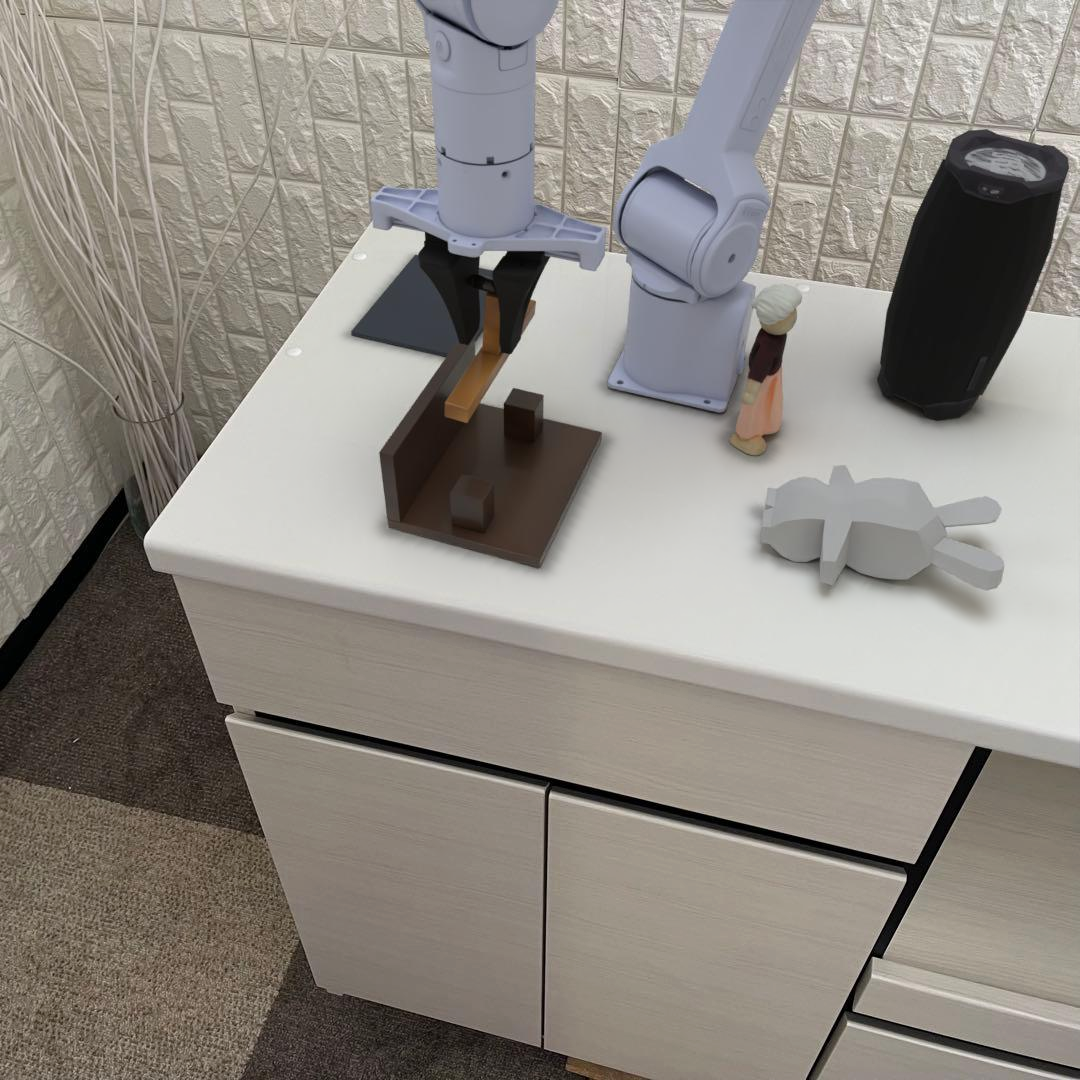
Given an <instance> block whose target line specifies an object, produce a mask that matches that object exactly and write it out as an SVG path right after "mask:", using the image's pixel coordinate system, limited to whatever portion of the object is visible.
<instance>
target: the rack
mask: <svg viewBox="0 0 1080 1080" xmlns="http://www.w3.org/2000/svg"><path fill="white" fill-rule="evenodd" d="M475 356H476V341H475V337H473V339H472V340H471V342H470V343H469V345H464V344H460V343H459V341H457V342H456V344H455V345H454V347H453V348H452V350H451V351H450V352H449V354H448V355H447V357H444V359H443V360H442V362H441V364H440V365H439V366H438V368H437V370H436V371H435V372H434V373H433V375H432V376H431V378H430V379H429V380H428V382H427V384H426V385H425V386H424V388H423V389H422V391H421V392H420V394H419V395H418V396H417V398H416V400H415V401H414V402H413V404H412V405H411V406H410V408H409V410H408V411H407V412H406V414H405V415H404V417H403V418H402V419H401V420H400V422H399V423H398V425H396V428H395V429H394V430H393V432H392V434H391V435H390V436H389V438H388V439H387V440H386V442H385V444H383V446H382V448H381V449H380V451H379V452H378V455H379V463H380V471H381V479H382V486H383V495H384V496H383V497H384V503H385V511H386V519H387V526H388V528H389V529H394V530H397V531H401V532H404V533H408V534H412V535H415V536H419V537H423V538H427V539H431V540H435V541H438V542H442V543H445V544H449V545H453V546H456V547H460V548H464V549H467V550H471V551H475V552H478V553H483V554H486V555H489V556H493V557H497V558H501V559H505V560H508V561H512V562H515V563H519V564H524V565H527V566H530V567H534V568H537V569H539V568H541V565H542V563H543V561H544V559H545V557H546V555H547V553H548V551H549V549H550V547H551V545H552V543H553V541H554V538H555V537H556V535H557V533H558V530H559V529H560V527H561V524H562V522H563V520H564V518H565V517H566V515H567V512H568V509H569V507H570V506H571V503H572V501H573V499H574V497H575V495H576V494H577V491H578V488H580V485H581V482H582V481H583V478H584V476H585V475H586V472H587V471H588V468H589V466H590V464H591V462H592V460H593V458H594V456H595V454H596V451H597V450H598V447H599V446H600V444H601V441H602V437H603V432H602V431H599V430H594V429H591V428H586V427H582V426H579V425H578V426H577V425H574V424H569V423H565V422H561V421H557V420H552V419H549V418H545V417H544V404H545V403H544V401H545V395H544V394H542V393H537V392H533V391H528V390H526V389H525V390H524V389H521V388H516V387H513V388H512V389H511V391H510V392H509V394H508V396H507V397H506V399H505V400H504V402H503V408H502V407H497V406H494V405H489V404H485V403H482V402H480V403H479V405H478V407H477V408H476V410H475V412H474V413H473V415H472V416H471V418H470V420H469V421H468V423H464V422H461V421H458V420H454V419H451V418H448V417H445V402H446V400H447V399H448V397H449V396H450V394H451V393H452V391H453V390H454V388H455V387H456V385H457V384H458V382H459V381H460V379H461V378H462V376H463V374H464V373H465V371H466V370H467V368H468V367H469V365H470V364H471V362H472V361H473V359H474V358H475Z"/></svg>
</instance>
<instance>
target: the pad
mask: <svg viewBox="0 0 1080 1080" xmlns="http://www.w3.org/2000/svg"><path fill="white" fill-rule="evenodd" d="M492 272H493V270H491V269H487V268H482V267H479V275H483V276H486V277H490V278H492ZM486 294H487V292H486V291H483V290H479V299H480V325H479V330H478V331H477V333H476V334H475V336H474V337H475V342H477V340H478V339H479V337H480V336H481V334H483V326H484V309H485V295H486ZM350 333H351V336H353V337H357V338H362V339H366V340H370V341H371V340H372V341H376V342H379V343H385V344H389V345H394V346H397V347H402V348H406V349H410V350H415V351H419V352H424V353H428V354H433V355H436V356H441V357H444V358H446V357H447V355H448V354H449V352H450V351H451V350H452V348H453V347H454V345H455V344H456V342H457V341H458V337H457V334H456V331H455V328H454V325H453V322H452V320H451V317H450V314H449V312H448V310H447V307H446V305H445V303H444V301H443V299H442V297H441V295H440V293H439V292H438V290H437V288H436V287H435V285H434V284H433V282H432V281H431V280H430V278H429V277H428V276H427V275H426V273H425V272H424V271H423V270H422V269H421V268H420V265H419V260H418V254H414V255H413V256H412V258H411V259H410V260H409V261H408V262H407V264H406V265H405V266H404V267H403V268H402V270H401V271H400V272H399V273H398V274H397V276H396V277H395V278H394V279H393V280H392V281H391V283H390V284H389V285H388V286H387V287H386V289H385V290H384V291H383V292H382V293H381V295H380V296H379V297H378V298H377V299H376V301H375V302H374V303H373V304H372V306H371V307H370V308H369V309H368V310H367V312H366V313H365V314H364V315H363V317H362V318H361V319H360V320H359V321H358V322H357V324H356V325H355V326H354V327H353V329H352V330H351V331H350Z"/></svg>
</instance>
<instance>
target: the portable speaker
mask: <svg viewBox="0 0 1080 1080" xmlns="http://www.w3.org/2000/svg"><path fill="white" fill-rule="evenodd" d="M1069 170H1070V162H1069V157H1068V156H1067V155H1066V154H1065V153H1063V152H1062V151H1061V150H1060V149H1059V148H1057V147H1056V146H1055V145H1050V144H1037V143H1034V142H1030V141H1026V140H1021V139H1018V138H1015V137H1010V136H1006V135H1004V134H1003V135H1002V134H998V133H996V132H994V131H992V130H990V129H987V128H986V129H973V130H972V129H971V130H969V129H968V130H967V131H964V132H963V133H960V134H959V135H957V136H955V137H954V138H952V139H951V142H950V144H949V147H948V149H947V153H946V156H945V158H942V160H941V163H940V164H939V167H938V168H937V171H936V173H935V175H934V177H933V179H932V181H931V183H930V185H929V187H928V189H927V192H926V193H925V195H924V197H923V200H922V201H921V204H920V206H919V208H918V210H917V212H916V214H915V216H914V219H913V221H912V224H911V228H910V231H909V235H908V238H907V242H906V245H905V248H904V252H903V255H902V259H901V261H900V265H899V269H898V272H897V274H896V275H897V276H896V278H895V281H894V282H895V283H894V286H893V288H892V291H891V296H890V300H889V302H888V306H887V308H886V314H885V321H884V330H883V337H882V345H881V353H880V359H879V360H880V361H879V365H880V368H879V372H878V375H877V377H876V380H877V383H878V386H879V389H880V391H881V394H882V396H886V397H893V396H895V397H898V398H900V399H902V400H904V401H906V402H909V403H911V404H912V405H915V406H917V407H919V408H921V409H922V411H923V412H924V414H925V416H926V417H927V418H930V419H933V420H936V421H941V420H950V419H954V418H961V417H963V416H964V415H965V414H967V413H969V411H971V410H972V408H973V407H974V405H975V403H976V402H977V401H978V399H979V397H981V396H983V395H984V393H985V391H986V390H987V388H988V386H989V384H990V382H991V381H992V379H993V377H994V375H995V374H996V372H997V369H998V368H999V366H1000V364H1001V362H1002V360H1003V358H1004V357H1005V355H1006V354H1007V352H1008V349H1009V348H1010V346H1011V344H1012V342H1013V341H1014V339H1015V336H1016V335H1017V333H1018V331H1019V329H1020V327H1021V326H1022V323H1023V321H1024V318H1025V316H1026V313H1027V311H1028V308H1029V305H1030V302H1031V299H1032V297H1033V295H1034V292H1035V290H1036V287H1037V284H1038V283H1039V280H1040V277H1041V274H1042V272H1043V269H1044V267H1045V264H1046V261H1047V259H1048V256H1049V254H1050V251H1051V249H1052V245H1053V241H1054V235H1055V230H1056V224H1057V220H1058V219H1057V218H1058V213H1059V207H1060V203H1061V197H1062V193H1063V187H1064V185H1065V181H1066V178H1067V176H1068V173H1069Z"/></svg>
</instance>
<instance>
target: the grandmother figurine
mask: <svg viewBox="0 0 1080 1080" xmlns="http://www.w3.org/2000/svg"><path fill="white" fill-rule="evenodd" d="M802 301H803V294H802V292H801V291H800V290H799V289H798V288H796V287H794V286H792V285H789V284H783V283H782V284H781V283H780V284H777V283H776V284H771V285H769V286H767V287H765V288H763V289H762V290H761V291H760V292H759V293H758V294H757V295H755V298H754V299H753V300H752V301H751V307H752V308H753V310H755V315H756V317H757V318H758V321H759V324H760V326H761V327H760V329H759V330H758V332H757V335H756V337H755V340H754V343H753V344H752V346H751V349H750V352H749V355H748V362H747V366H748V369H747V376H746V382H745V385H744V390H743V392H742V393H741V395H740V396H741V397H740V400H741V403H742V405H741V409H740V412H739V415H738V417H737V419H736V423H735V425H736V426H735V432H734V433H733V434H732V435H731V436H730V438H729V443H730V444H731V445H732V446H733V447H735V448H736V449H737V450H740V451H742V452H743V453H745V454H747V455H750V456H759V455H762V454H763V453H764V452H765V451H766V450H767V443H766V440H765V438H763V436H767V435H773V434H776V433H777V432H778V431H780V430H781V427H782V420H783V409H784V387H783V386H784V383H783V381H784V379H783V378H784V377H783V376H784V375H783V365H782V364H783V357H784V351H785V348H786V345H787V344H786V343H787V338H788V333H789V332H790V331H791V330H792V329H793V328H794V327H795V326H796V323H797V321H798V310H797V308H798V306H800V305H801V303H802Z"/></svg>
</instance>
